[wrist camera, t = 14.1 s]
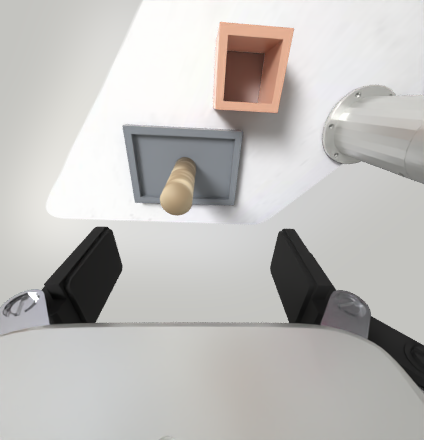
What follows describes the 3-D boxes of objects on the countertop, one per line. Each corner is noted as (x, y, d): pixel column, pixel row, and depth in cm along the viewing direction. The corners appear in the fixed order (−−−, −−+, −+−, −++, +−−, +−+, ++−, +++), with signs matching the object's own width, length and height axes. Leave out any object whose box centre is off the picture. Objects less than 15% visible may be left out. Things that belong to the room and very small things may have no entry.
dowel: (196, 157, 37) (192, 186, 24) (195, 178, 39) (192, 215, 26) (174, 156, 36) (158, 185, 24) (175, 177, 38) (161, 214, 26)
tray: (241, 130, 35) (242, 131, 34) (232, 201, 42) (233, 205, 41) (126, 124, 34) (122, 125, 32) (137, 198, 41) (135, 202, 40)
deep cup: (272, 45, 29) (294, 28, 22) (262, 110, 34) (277, 112, 27) (215, 40, 29) (219, 21, 22) (212, 107, 33) (215, 109, 26)
